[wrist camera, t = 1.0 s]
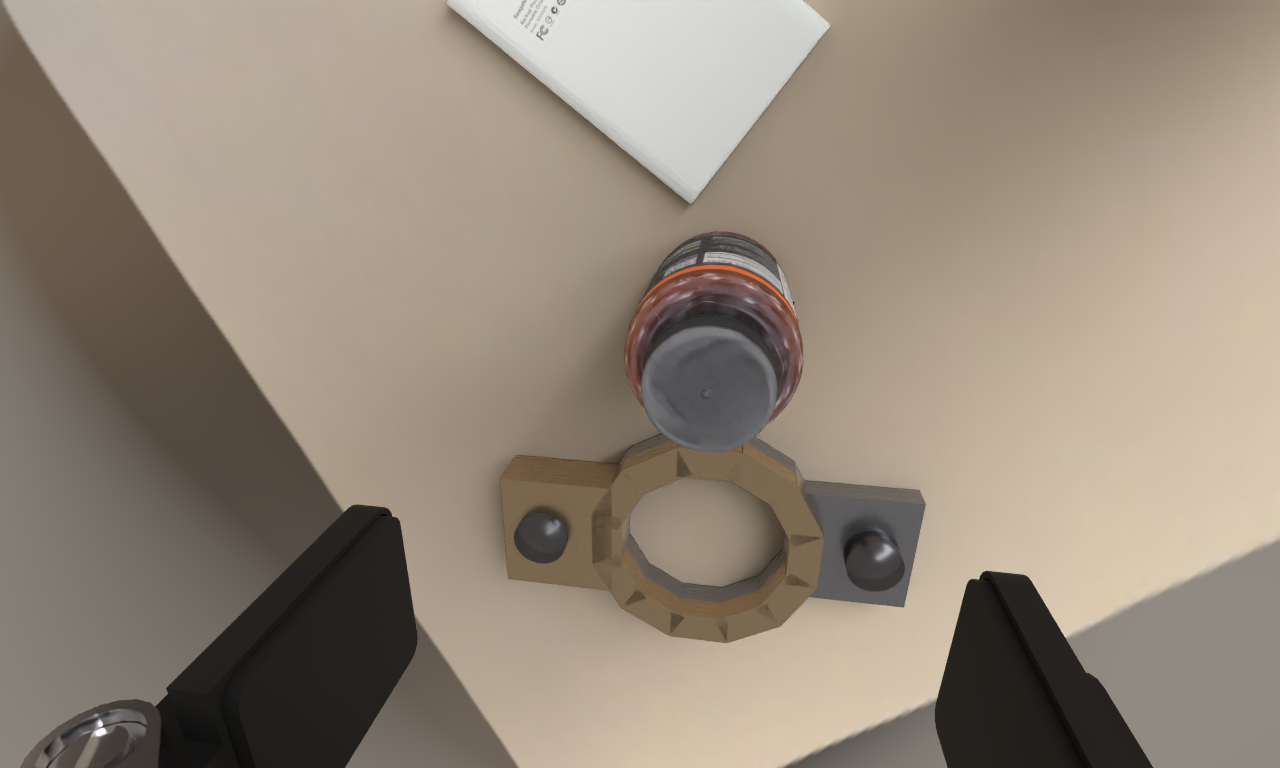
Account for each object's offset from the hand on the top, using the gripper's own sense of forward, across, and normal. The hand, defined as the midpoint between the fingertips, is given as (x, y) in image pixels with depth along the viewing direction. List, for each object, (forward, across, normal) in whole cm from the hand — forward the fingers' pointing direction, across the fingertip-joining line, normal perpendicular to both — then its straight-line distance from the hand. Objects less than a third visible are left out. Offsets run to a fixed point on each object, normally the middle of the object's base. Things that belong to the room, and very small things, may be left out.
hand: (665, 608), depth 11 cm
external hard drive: (+21, +4, -11) cm, 24 cm away
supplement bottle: (+20, 0, 0) cm, 20 cm away
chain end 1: (+20, +2, +12) cm, 23 cm away
